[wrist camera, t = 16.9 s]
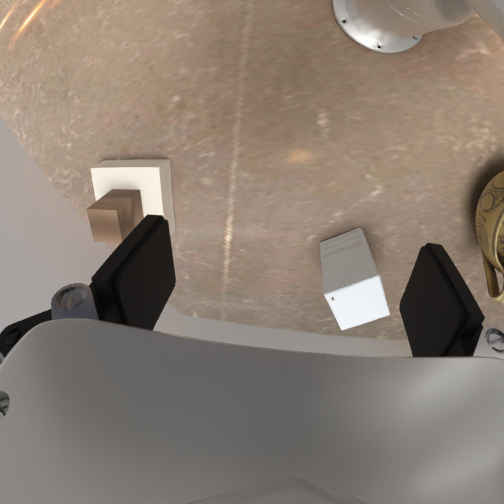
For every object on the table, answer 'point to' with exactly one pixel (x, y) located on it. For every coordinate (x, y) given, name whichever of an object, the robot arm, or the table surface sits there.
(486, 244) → the ceramic bowl
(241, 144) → the table surface
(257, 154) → the table surface
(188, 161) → the table surface
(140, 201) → the walnut block
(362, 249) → the supplement box
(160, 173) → the base
